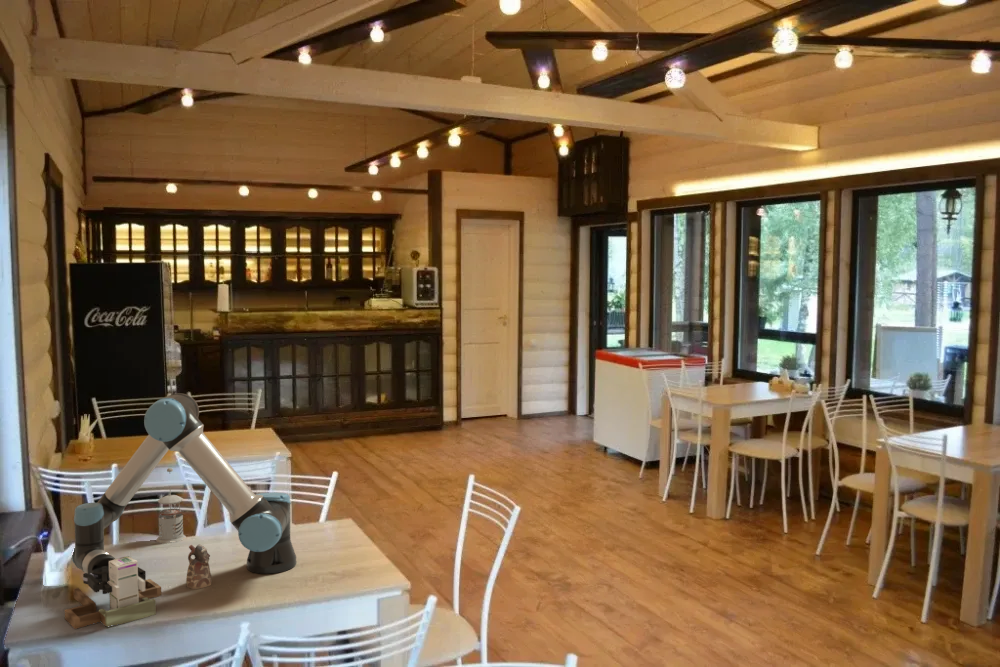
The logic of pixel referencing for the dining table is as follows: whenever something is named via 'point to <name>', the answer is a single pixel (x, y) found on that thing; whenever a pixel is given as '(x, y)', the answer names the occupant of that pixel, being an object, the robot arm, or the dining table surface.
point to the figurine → (198, 568)
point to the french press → (170, 519)
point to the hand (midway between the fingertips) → (131, 589)
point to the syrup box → (124, 581)
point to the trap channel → (121, 615)
